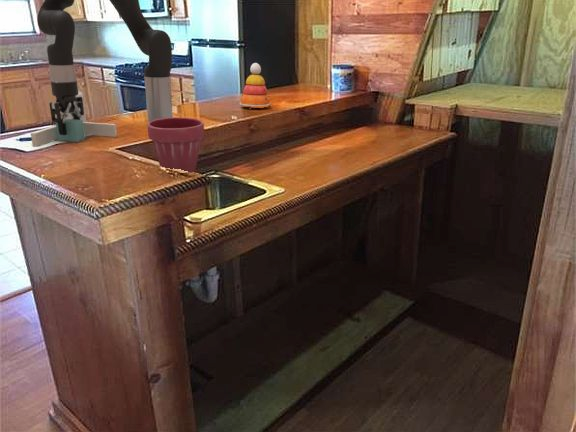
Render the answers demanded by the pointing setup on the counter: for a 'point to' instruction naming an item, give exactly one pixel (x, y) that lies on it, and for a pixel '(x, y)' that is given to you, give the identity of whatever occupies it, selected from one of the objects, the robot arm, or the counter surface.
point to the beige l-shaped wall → (89, 129)
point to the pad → (71, 141)
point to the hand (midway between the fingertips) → (70, 132)
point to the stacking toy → (255, 89)
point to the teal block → (72, 130)
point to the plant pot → (176, 141)
